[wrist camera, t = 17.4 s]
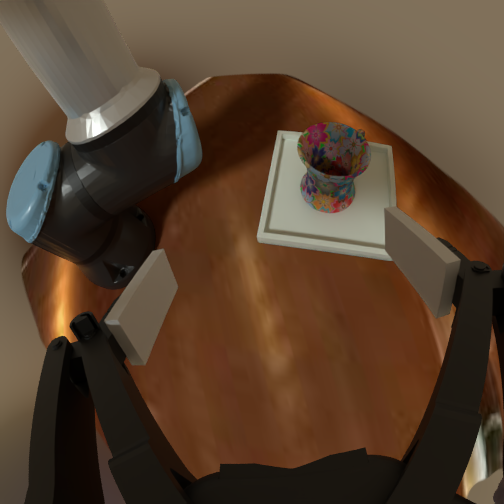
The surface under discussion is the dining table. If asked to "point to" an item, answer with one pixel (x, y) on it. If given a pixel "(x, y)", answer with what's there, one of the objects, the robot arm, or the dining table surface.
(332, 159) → the mug
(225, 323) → the dining table surface
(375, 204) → the tray
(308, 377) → the dining table surface
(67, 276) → the dining table surface
